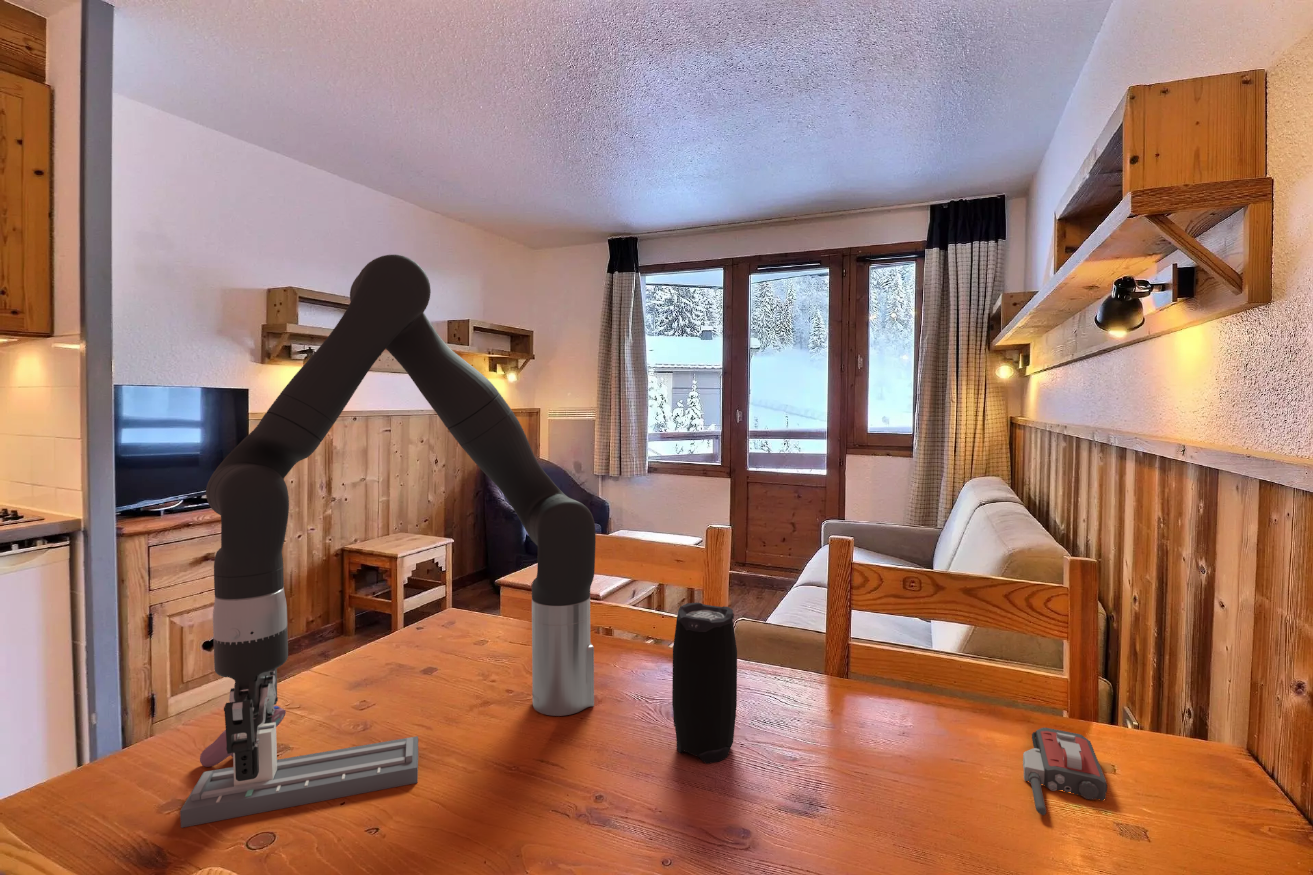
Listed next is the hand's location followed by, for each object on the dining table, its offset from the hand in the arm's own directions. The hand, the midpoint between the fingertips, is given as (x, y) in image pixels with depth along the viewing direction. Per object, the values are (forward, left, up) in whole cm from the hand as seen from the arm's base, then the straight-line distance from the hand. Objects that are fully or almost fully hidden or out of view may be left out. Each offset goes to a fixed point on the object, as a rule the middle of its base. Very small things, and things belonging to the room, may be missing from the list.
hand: (255, 761), depth 77 cm
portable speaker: (-56, +9, -4) cm, 57 cm away
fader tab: (0, 0, -2) cm, 2 cm away
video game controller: (+4, -12, -4) cm, 13 cm away
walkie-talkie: (-96, +32, -5) cm, 101 cm away
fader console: (-6, 0, -4) cm, 7 cm away
